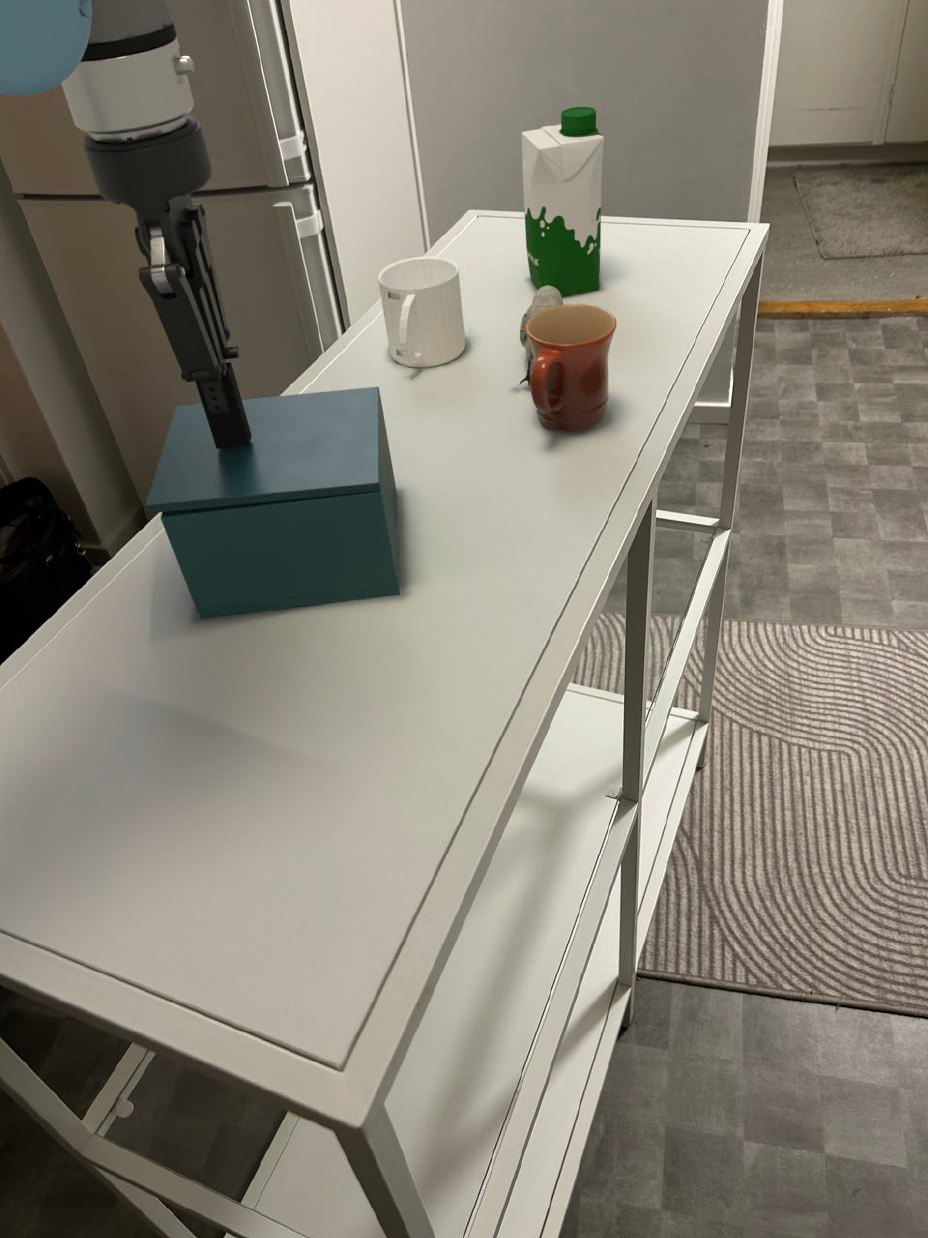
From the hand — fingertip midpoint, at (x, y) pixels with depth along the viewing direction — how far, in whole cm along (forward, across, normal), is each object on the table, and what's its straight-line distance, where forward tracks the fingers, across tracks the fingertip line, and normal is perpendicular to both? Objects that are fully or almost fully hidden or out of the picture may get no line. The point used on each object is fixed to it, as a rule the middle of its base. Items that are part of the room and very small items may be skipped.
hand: (234, 441), depth 75 cm
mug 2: (+12, +16, -29) cm, 36 cm away
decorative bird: (+12, +31, -29) cm, 44 cm away
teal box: (+12, 0, -3) cm, 12 cm away
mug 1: (+12, +35, -15) cm, 40 cm away
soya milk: (+12, +50, -34) cm, 62 cm away
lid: (+1, 0, -3) cm, 3 cm away
